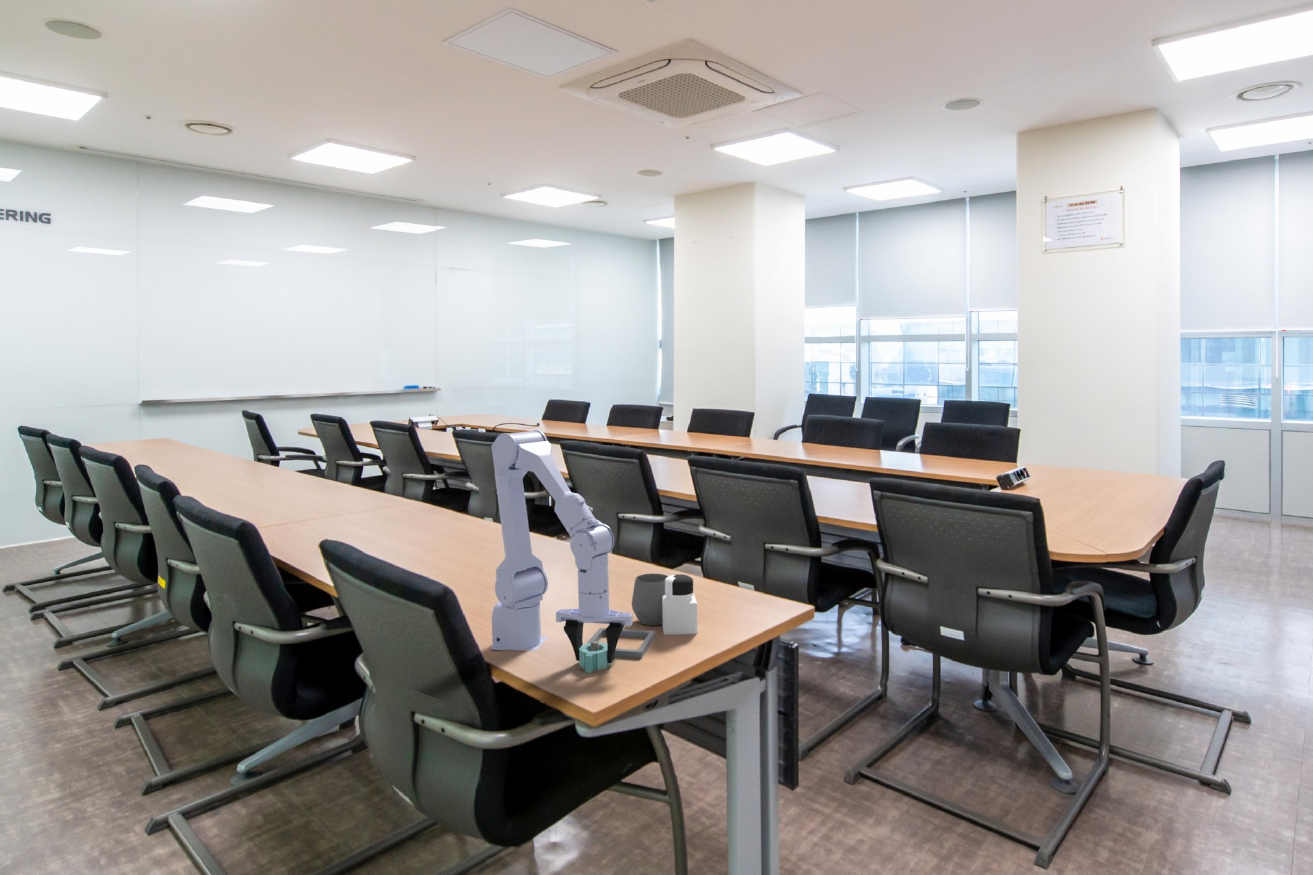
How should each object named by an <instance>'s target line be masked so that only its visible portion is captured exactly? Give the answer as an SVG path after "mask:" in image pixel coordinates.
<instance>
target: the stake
mask: <svg viewBox="0 0 1313 875" xmlns="http://www.w3.org/2000/svg"><path fill="white" fill-rule="evenodd" d="M599 643H600V642H599V641H593V642H591V651H598V650H599ZM617 661H618V658H616V657H614V660H613V662H612V663H611V664H610V665H609V667H607V668H604V669H600V670H594V671H593V672H592V673H601V674H602V673H604V674H608V673H609V672H610V671H611V669H612V668H613V667H614V666H615V664H616V663H617ZM571 671H577V672H585V669H583V668H582V667H581V666H580V665H579V661H577V663H576V664H575V665H574V667H572V669H571Z"/></svg>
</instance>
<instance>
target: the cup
mask: <svg viewBox="0 0 1313 875" xmlns="http://www.w3.org/2000/svg"><path fill="white" fill-rule="evenodd" d="M669 576H670V575H669ZM669 576H668V575H667V574H663V573H656V572H655V573H654V572H653V573H644V574H639V575H637V576H636V577H634V578H635V579H634V586H633V591H632V592H633V594H632V599H631V608H632V611H633V613H634V616H635V617H636V618H637V621H638V622H639V623H641V624H643V625H646V626H660V625H662V596H663V595H665V579H666V578H667V577H669Z"/></svg>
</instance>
